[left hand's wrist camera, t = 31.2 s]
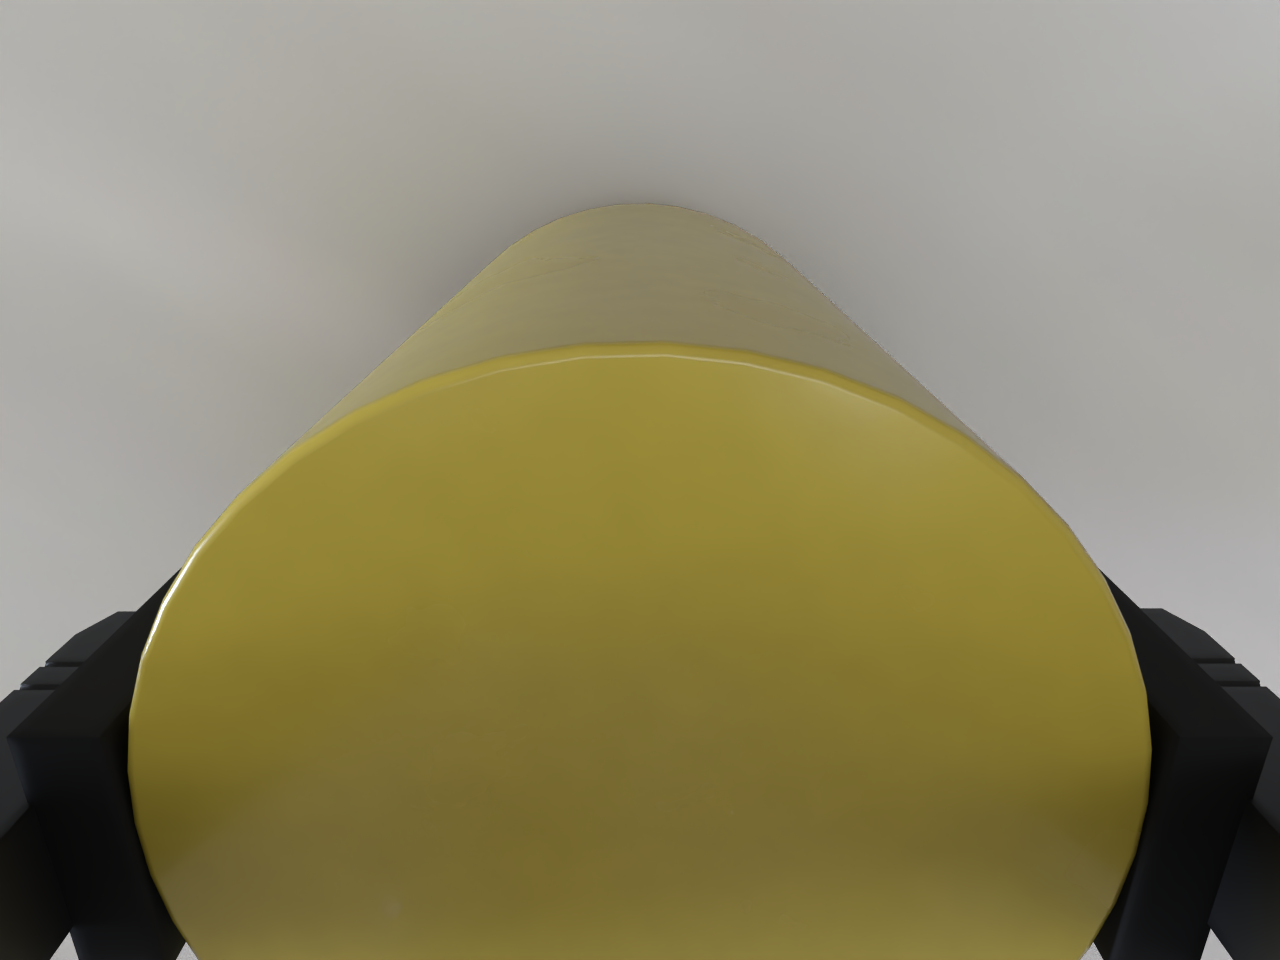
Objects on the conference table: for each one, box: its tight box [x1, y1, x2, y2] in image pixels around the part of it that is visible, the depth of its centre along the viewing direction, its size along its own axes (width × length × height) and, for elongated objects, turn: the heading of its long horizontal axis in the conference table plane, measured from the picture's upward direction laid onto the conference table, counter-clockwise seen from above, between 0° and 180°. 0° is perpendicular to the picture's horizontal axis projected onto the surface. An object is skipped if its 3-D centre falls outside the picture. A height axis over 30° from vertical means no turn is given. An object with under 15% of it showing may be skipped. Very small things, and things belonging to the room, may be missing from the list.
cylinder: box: [128, 203, 1152, 960], centre depth 13 cm, size 9×9×12 cm
